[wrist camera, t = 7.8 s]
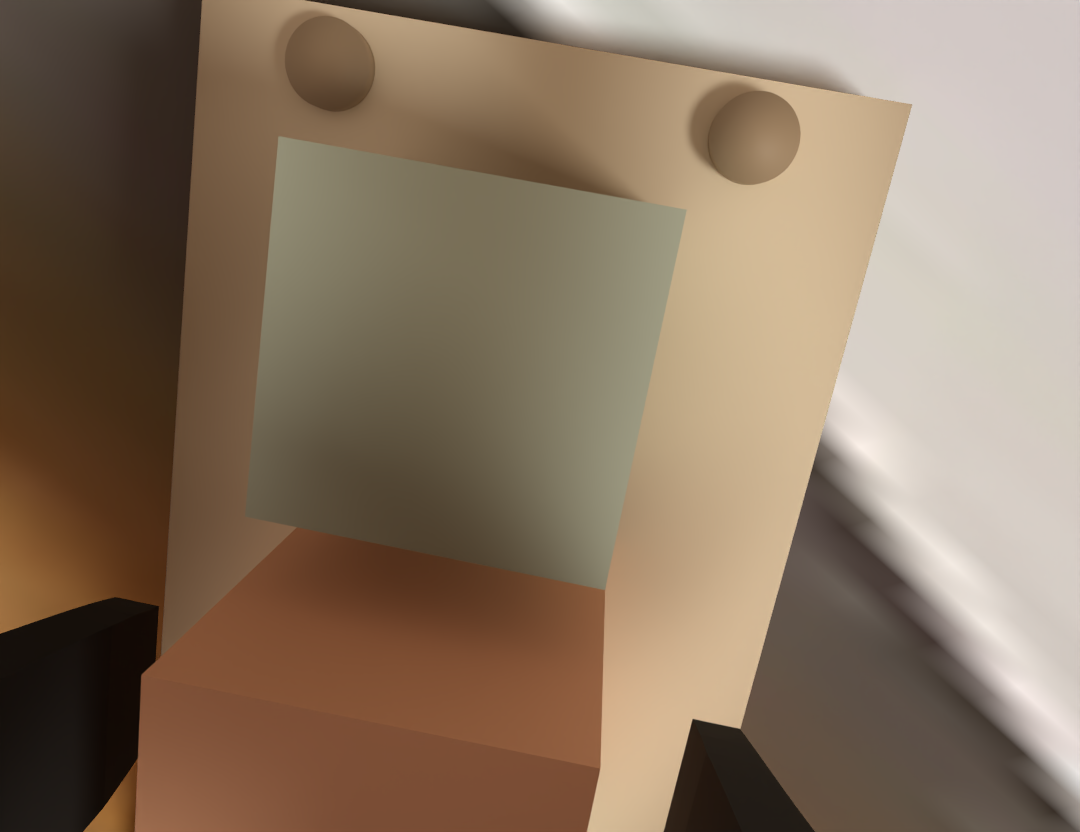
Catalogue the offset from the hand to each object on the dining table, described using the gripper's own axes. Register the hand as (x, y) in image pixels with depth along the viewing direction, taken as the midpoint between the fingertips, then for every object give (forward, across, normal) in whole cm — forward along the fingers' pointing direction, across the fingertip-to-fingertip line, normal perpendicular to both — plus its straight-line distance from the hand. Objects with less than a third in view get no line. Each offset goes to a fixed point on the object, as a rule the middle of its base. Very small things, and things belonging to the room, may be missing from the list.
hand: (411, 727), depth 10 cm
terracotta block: (+3, 0, 0) cm, 3 cm away
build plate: (+4, 0, 0) cm, 4 cm away
